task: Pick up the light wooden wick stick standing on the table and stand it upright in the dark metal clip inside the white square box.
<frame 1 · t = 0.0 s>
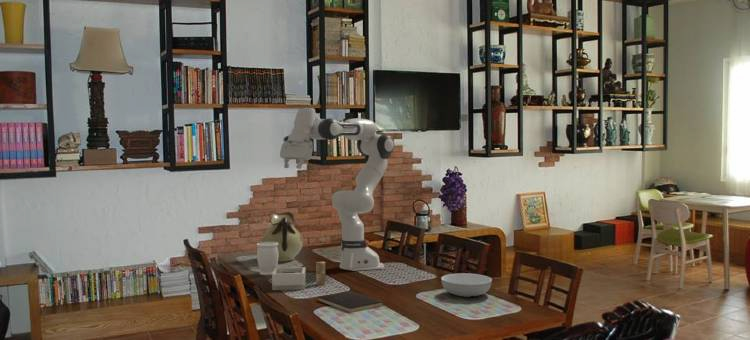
hand: (292, 168, 304), 52 cm above the table, tool tilted 20°, fingers open, 8 cm apart
beige rounded piece: (283, 260, 356), on the table
jar: (268, 274, 319), on the table
white square box: (289, 286, 292), on the table
hardcover book: (350, 305, 261), on the table
serving bowl: (466, 295, 273), on the table
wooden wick: (320, 284, 295), on the table
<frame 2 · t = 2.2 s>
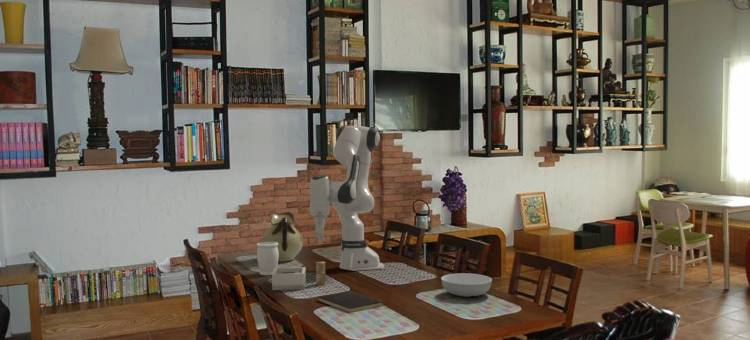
hand: (320, 241, 294), 19 cm above the table, tool pointing down, fingers open, 8 cm apart
nothing on the table moved.
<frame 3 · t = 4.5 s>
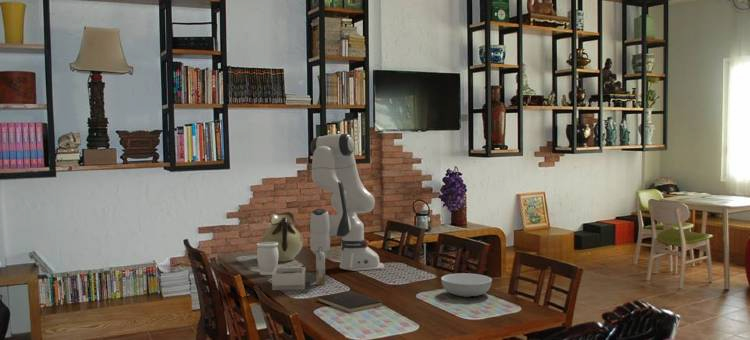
hand: (320, 276, 295), 4 cm above the table, tool pointing down, fingers closed on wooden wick, 2 cm apart
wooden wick: (320, 284, 295), on the table, touching gripper
everything else where it was.
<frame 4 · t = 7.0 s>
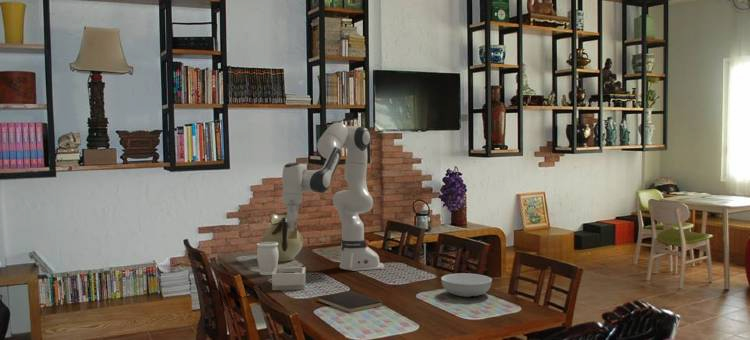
hand: (292, 230, 291), 25 cm above the table, tool pointing down, fingers closed on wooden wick
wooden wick: (292, 238, 291), point 21 cm above the table, touching gripper
everything else where it was.
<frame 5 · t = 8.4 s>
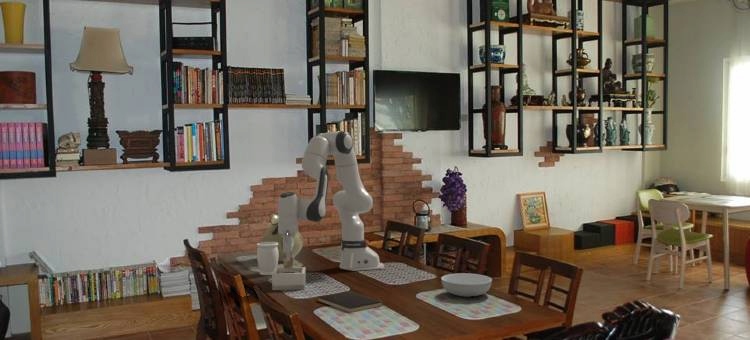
hand: (288, 260, 292), 12 cm above the table, tool pointing down, fingers closed on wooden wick
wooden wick: (288, 268, 292), point 8 cm above the table, touching gripper
everything else where it was.
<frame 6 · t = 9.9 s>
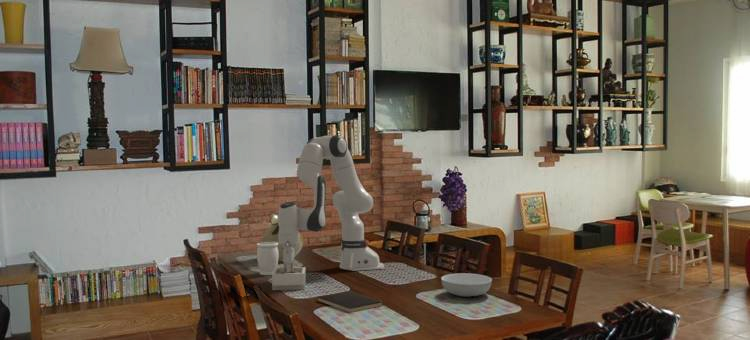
hand: (289, 270, 292), 7 cm above the table, tool pointing down, fingers open, 5 cm apart
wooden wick: (289, 281, 292), point 2 cm above the table, touching white square box
everything else where it was.
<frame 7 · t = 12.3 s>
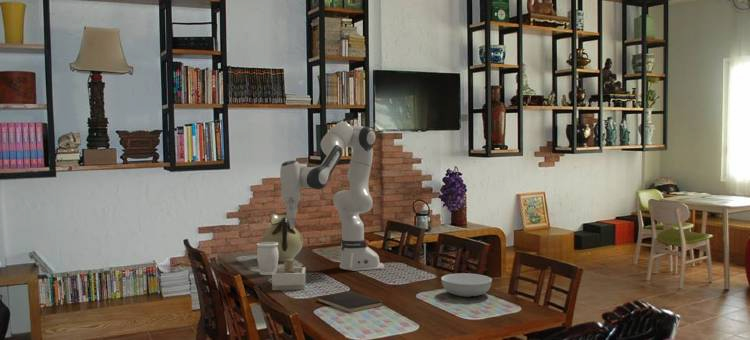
hand: (292, 226, 298), 26 cm above the table, tool pointing down, fingers open, 8 cm apart
nothing on the table moved.
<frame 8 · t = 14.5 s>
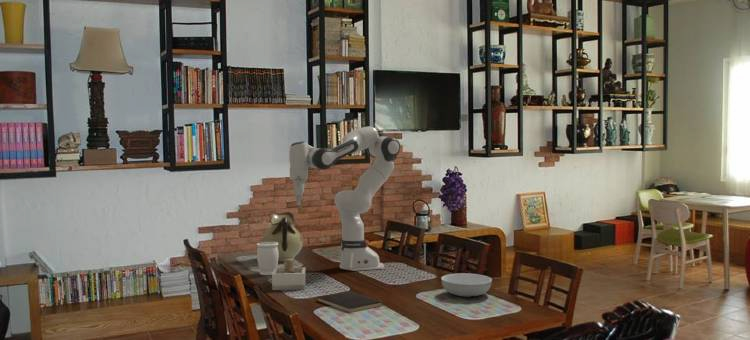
hand: (299, 204, 315), 34 cm above the table, tool pointing down, fingers open, 8 cm apart
nothing on the table moved.
at the end: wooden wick 0.1 cm off-centre on the white square box, point 2.0 cm above the white square box's base; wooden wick tilted 0°; the gripper is holding nothing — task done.
